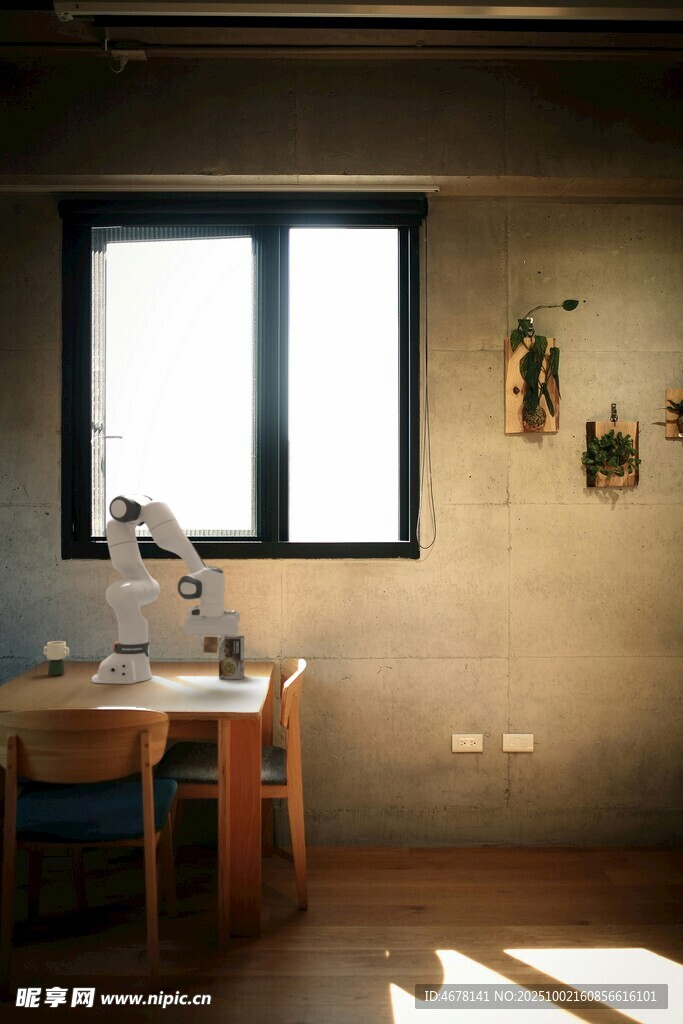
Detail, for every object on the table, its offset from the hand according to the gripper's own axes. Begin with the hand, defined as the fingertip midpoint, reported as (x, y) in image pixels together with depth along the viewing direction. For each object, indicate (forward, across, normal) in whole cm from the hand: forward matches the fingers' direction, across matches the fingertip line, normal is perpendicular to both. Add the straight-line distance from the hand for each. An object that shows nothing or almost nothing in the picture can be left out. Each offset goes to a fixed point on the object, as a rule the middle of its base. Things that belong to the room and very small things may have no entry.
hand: (210, 646), depth 285 cm
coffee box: (+15, -8, -12) cm, 21 cm away
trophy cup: (+18, +61, -23) cm, 67 cm away
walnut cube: (+2, 0, 0) cm, 2 cm away
